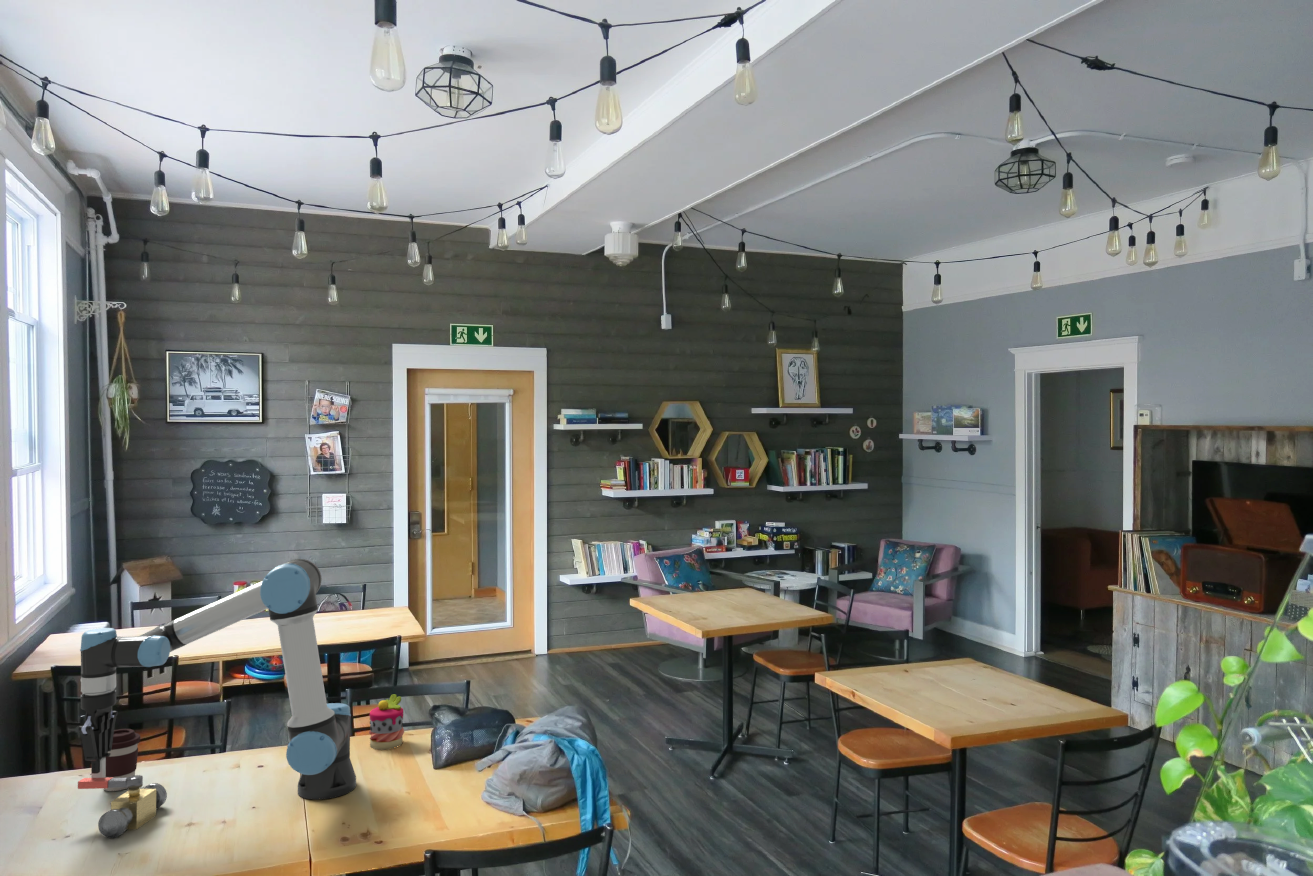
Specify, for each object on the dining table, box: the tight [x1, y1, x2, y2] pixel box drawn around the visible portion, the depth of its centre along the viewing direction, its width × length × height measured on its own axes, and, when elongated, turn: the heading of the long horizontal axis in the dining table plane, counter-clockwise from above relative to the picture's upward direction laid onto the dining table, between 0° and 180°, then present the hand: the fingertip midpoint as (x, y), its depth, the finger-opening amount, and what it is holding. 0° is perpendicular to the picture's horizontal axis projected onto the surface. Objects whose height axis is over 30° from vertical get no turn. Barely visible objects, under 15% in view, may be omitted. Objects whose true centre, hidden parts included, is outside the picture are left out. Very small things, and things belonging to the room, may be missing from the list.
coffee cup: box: [103, 728, 141, 792], centre depth 236 cm, size 10×10×15 cm
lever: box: [77, 774, 144, 791], centre depth 214 cm, size 15×4×2 cm, turn 94°
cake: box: [368, 694, 405, 751], centre depth 271 cm, size 10×11×15 cm
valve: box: [97, 782, 168, 839], centre depth 214 cm, size 20×6×9 cm, turn 179°
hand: (98, 784), depth 215 cm, fingers closed
